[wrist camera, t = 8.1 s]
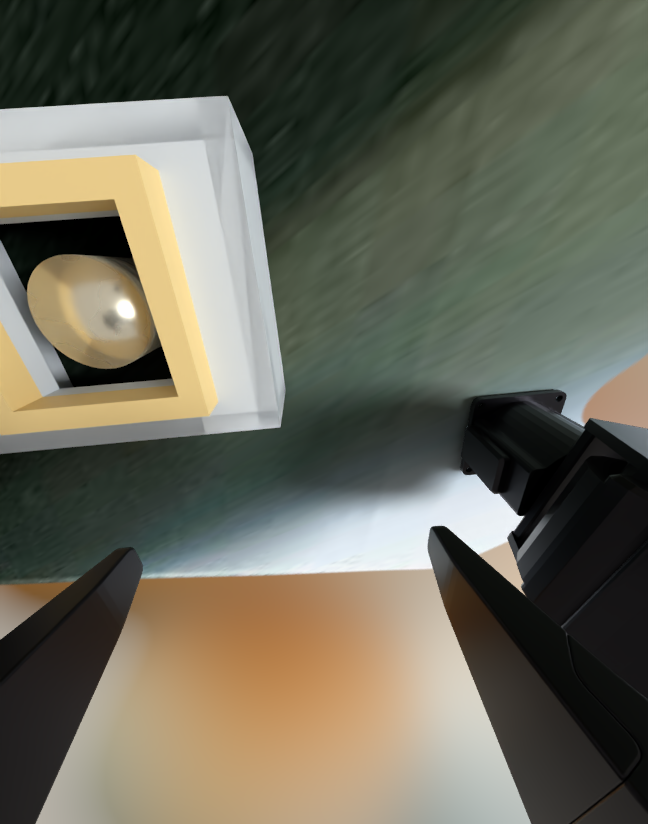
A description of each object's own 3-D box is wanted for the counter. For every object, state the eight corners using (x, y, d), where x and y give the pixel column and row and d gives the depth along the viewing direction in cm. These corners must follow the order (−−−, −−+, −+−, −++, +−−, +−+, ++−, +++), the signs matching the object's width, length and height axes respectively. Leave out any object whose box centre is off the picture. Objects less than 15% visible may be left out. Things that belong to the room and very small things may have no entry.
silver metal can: (176, 254, 15) (123, 249, 11) (199, 338, 17) (162, 364, 13) (92, 262, 15) (2, 259, 10) (125, 345, 17) (61, 373, 12)
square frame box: (252, 153, 13) (215, 65, 8) (285, 389, 19) (278, 443, 13) (-57, 173, 13) (-344, 96, 7) (68, 409, 18) (-40, 474, 13)
